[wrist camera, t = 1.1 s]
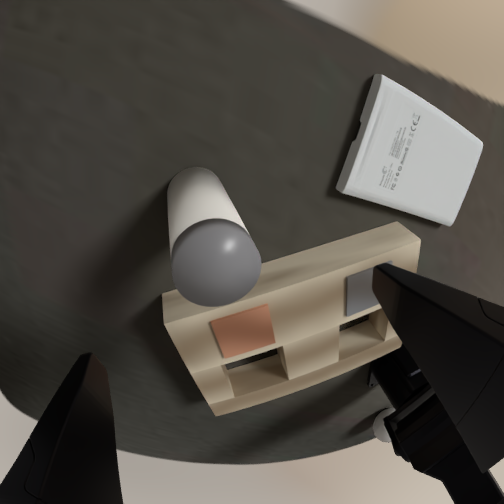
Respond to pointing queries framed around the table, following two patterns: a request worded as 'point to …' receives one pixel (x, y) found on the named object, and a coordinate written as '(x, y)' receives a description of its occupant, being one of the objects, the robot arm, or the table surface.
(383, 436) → the white egg
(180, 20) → the table surface
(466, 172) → the external hard drive
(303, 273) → the socket block
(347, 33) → the table surface
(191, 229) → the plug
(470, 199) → the table surface
